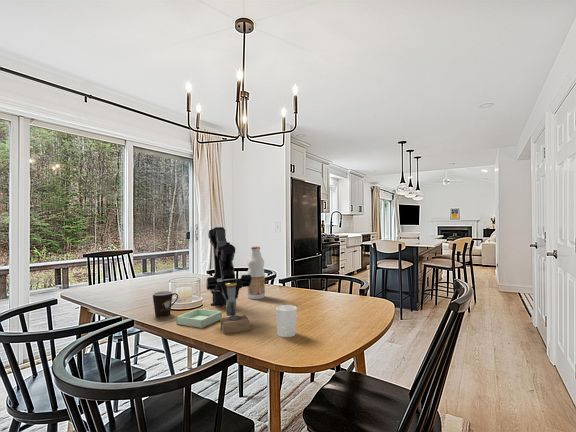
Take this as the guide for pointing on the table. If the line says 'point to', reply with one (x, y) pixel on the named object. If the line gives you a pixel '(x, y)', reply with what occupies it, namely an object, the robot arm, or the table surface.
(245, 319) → the block
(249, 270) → the fruit juice
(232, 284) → the grey metal cylinder
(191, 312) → the green tray
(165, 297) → the coffee mug
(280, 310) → the white cup
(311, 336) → the table surface
